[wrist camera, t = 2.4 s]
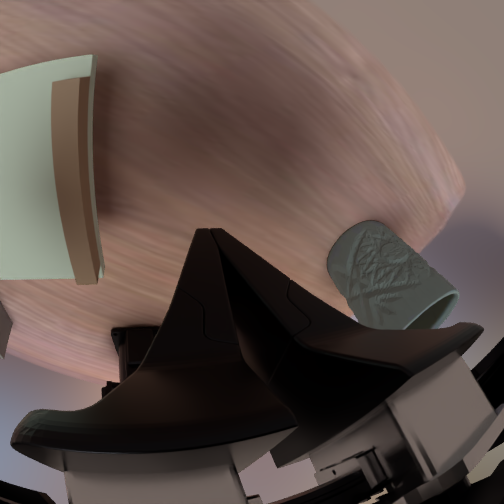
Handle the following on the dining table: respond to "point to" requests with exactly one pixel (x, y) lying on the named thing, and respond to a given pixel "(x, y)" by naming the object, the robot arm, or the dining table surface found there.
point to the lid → (49, 173)
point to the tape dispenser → (4, 330)
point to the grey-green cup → (388, 280)
